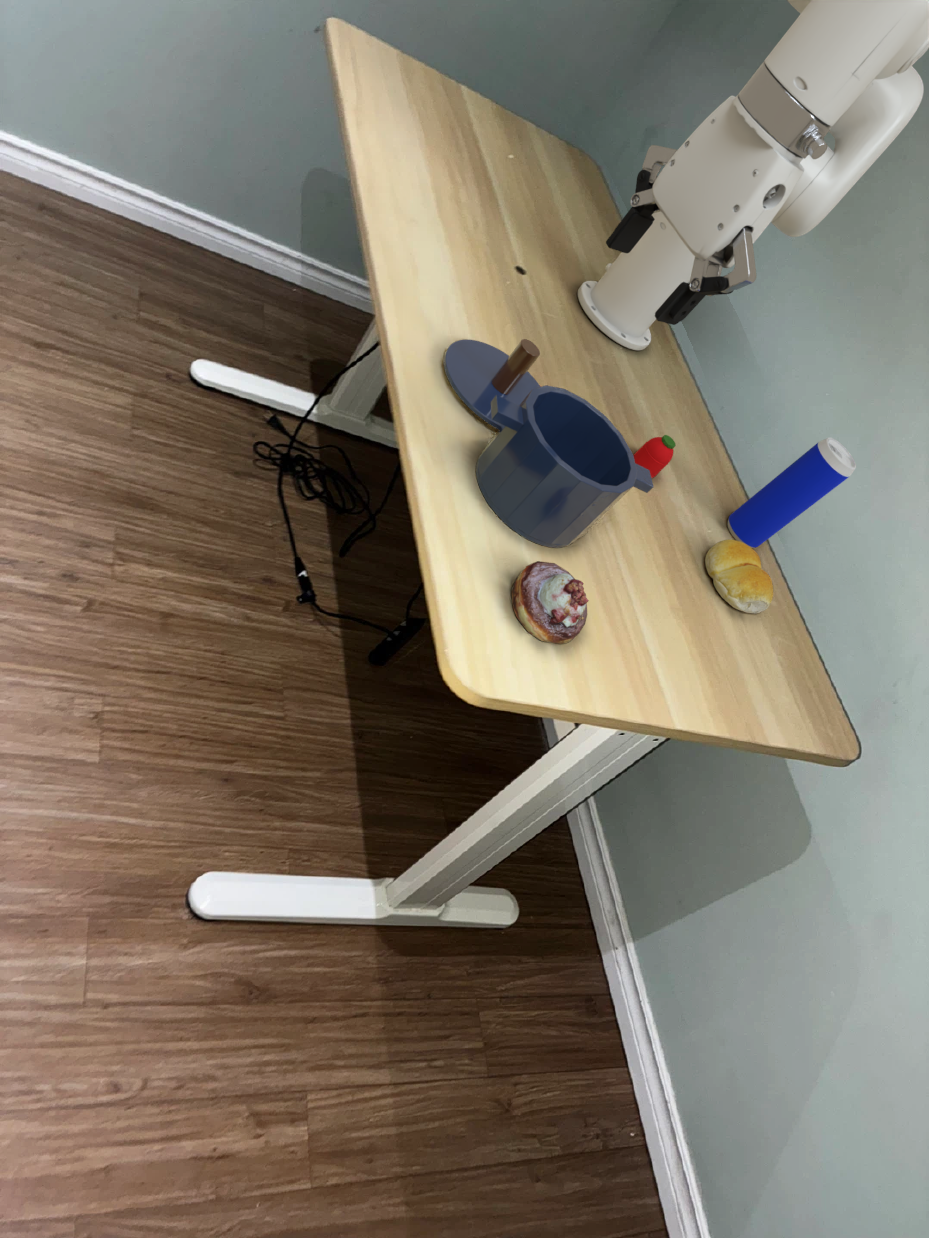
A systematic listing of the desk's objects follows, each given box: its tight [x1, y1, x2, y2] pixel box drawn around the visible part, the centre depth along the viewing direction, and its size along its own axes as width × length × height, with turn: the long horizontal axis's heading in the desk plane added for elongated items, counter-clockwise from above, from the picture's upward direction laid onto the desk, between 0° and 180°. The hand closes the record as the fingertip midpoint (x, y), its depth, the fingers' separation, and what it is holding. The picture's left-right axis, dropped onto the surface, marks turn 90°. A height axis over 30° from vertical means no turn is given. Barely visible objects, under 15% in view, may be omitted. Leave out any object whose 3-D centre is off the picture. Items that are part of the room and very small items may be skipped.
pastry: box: [511, 560, 590, 645], centre depth 70 cm, size 8×8×5 cm
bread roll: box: [704, 538, 774, 614], centre depth 91 cm, size 8×9×4 cm
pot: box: [475, 385, 654, 549], centre depth 77 cm, size 13×18×8 cm
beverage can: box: [727, 437, 857, 549], centre depth 96 cm, size 5×5×15 cm
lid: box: [443, 338, 541, 431], centre depth 85 cm, size 14×14×7 cm
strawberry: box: [633, 434, 676, 479], centre depth 95 cm, size 4×4×4 cm
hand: (639, 284), depth 78 cm, fingers open, 9 cm apart
